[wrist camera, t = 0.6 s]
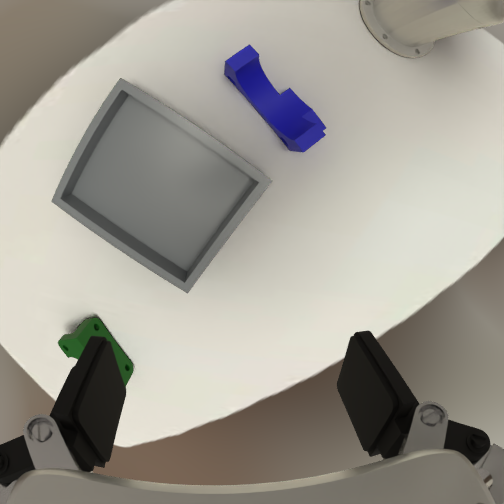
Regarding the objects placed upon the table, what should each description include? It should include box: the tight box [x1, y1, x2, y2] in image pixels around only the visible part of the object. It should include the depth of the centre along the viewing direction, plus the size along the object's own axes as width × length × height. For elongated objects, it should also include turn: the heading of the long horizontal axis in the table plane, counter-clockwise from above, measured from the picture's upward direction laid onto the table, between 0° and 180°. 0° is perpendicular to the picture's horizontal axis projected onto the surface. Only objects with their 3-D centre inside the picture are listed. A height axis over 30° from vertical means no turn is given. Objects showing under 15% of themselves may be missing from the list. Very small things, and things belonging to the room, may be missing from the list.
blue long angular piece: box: [224, 45, 326, 152], centre depth 28 cm, size 12×4×6 cm, turn 40°
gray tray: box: [52, 78, 272, 293], centre depth 31 cm, size 16×20×4 cm
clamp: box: [58, 318, 133, 387], centre depth 37 cm, size 12×6×9 cm, turn 15°
